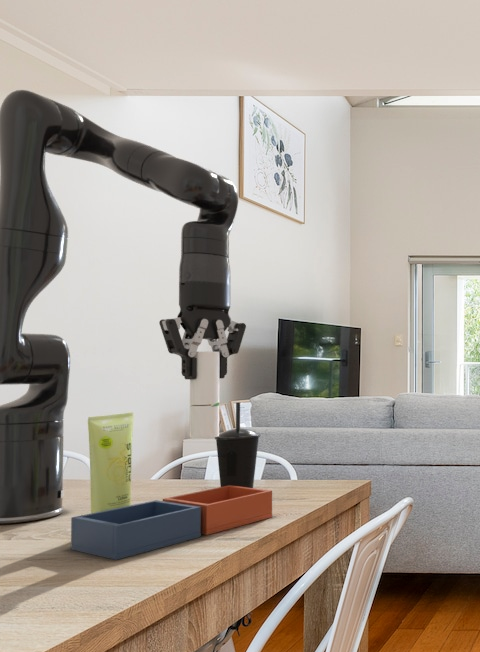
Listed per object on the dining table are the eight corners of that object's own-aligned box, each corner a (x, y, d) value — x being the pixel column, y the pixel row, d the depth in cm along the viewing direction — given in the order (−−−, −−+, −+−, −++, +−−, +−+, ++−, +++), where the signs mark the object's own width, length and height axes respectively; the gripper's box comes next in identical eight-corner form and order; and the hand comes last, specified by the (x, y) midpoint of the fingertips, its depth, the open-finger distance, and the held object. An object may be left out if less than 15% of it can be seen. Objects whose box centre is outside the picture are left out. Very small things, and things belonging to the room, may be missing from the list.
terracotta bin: (162, 527, 97) (162, 498, 98) (229, 510, 108) (229, 485, 108) (206, 535, 93) (206, 505, 93) (272, 517, 104) (272, 490, 104)
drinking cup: (267, 502, 114) (268, 402, 114) (225, 511, 107) (226, 404, 108) (247, 498, 118) (248, 400, 118) (206, 505, 112) (207, 403, 112)
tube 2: (196, 438, 98) (197, 351, 99) (185, 437, 101) (185, 351, 101) (223, 436, 102) (224, 351, 102) (212, 434, 104) (212, 352, 104)
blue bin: (70, 549, 86) (71, 517, 86) (156, 528, 97) (156, 500, 97) (116, 560, 81) (116, 526, 81) (200, 536, 92) (201, 506, 92)
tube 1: (127, 535, 93) (129, 414, 93) (86, 540, 90) (87, 416, 90) (132, 526, 98) (133, 412, 98) (93, 531, 95) (94, 413, 95)
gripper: (230, 288, 110) (230, 377, 109) (147, 278, 97) (146, 380, 96) (257, 285, 107) (257, 377, 106) (175, 275, 94) (174, 380, 93)
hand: (204, 378), depth 101 cm, fingers closed on tube 2, 4 cm apart
